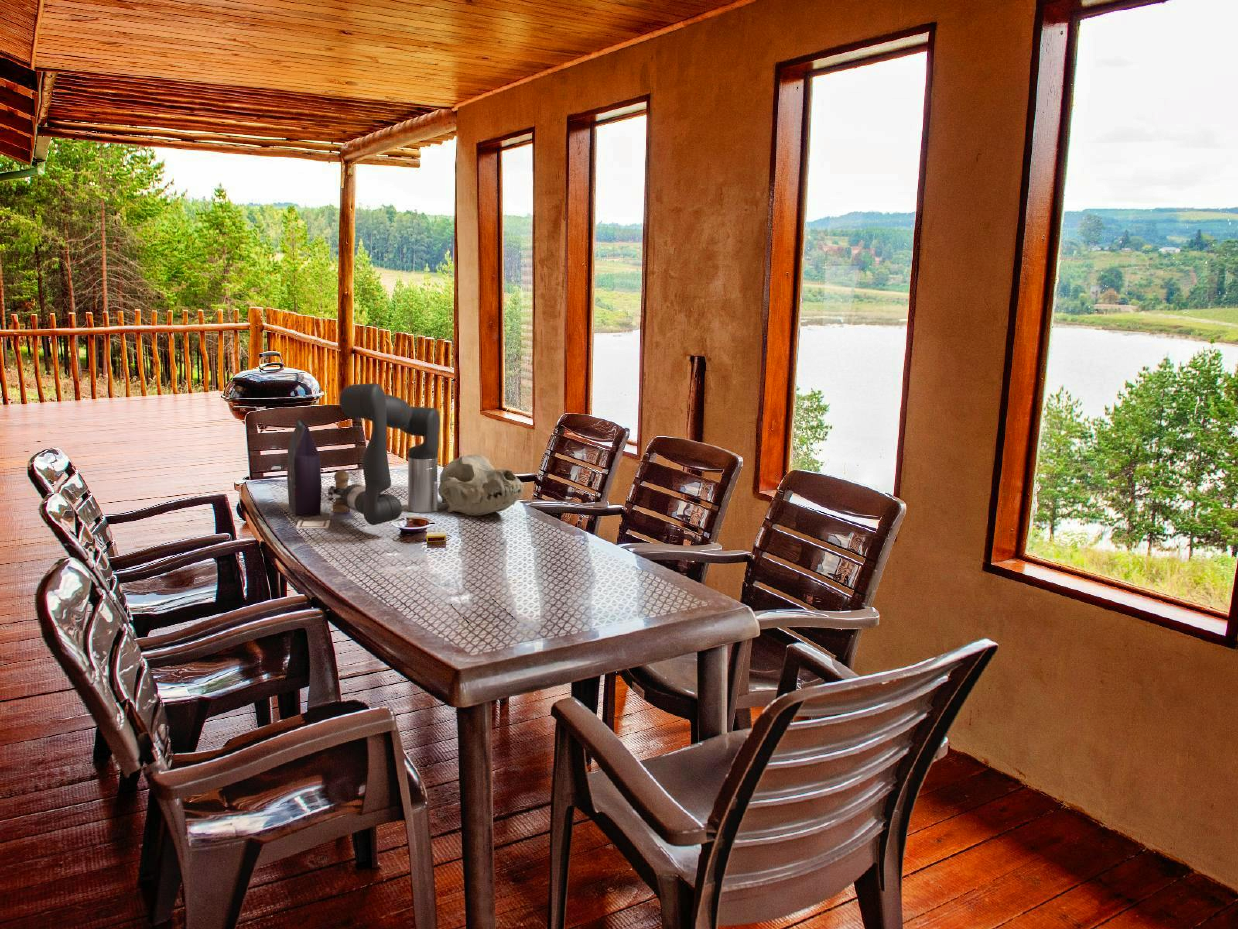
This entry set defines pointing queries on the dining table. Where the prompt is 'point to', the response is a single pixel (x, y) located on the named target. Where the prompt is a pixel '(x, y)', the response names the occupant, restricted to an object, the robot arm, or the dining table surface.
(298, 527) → the sheet
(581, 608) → the dining table surface
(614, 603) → the dining table surface
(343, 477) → the stamp
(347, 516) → the ink pad
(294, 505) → the purple printed bag
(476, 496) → the animal skull
